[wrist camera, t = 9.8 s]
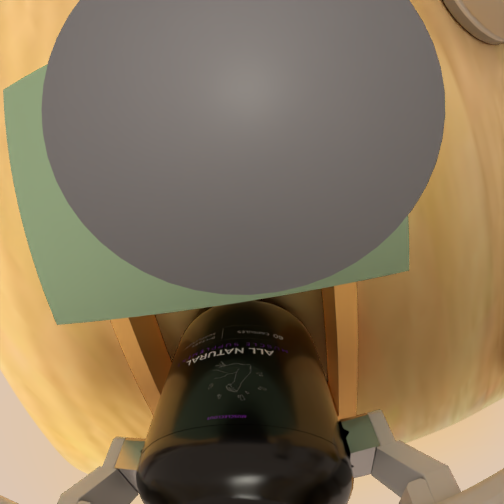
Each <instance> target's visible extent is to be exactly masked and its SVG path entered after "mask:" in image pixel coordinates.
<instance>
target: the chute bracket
mask: <svg viewBox="0 0 504 504" xmlns="http://www.w3.org/2000/svg"><path fill="white" fill-rule="evenodd" d="M322 298H323V310H324V322H325V336H326V351H327V368H328V382H327V384H328V388H329V391H330V394H331V397H332V401H333V404H334V407H335V410H336V414H337V417H338V420H340V419H345V418H349V417H353V416H356V407H357V382H358V307H357V282H352V283H347V284H342V285H337V286H332V287H326V288H322ZM110 321H111V324H112V326H113V329H114V331H115V334H116V336H117V339H118V341H119V344H120V346H121V349H122V351H123V353H124V356H125V358H126V360H127V362H128V365H129V367H130V369H131V371H132V373H133V376H134V378H135V380H136V382H137V384H138V386H139V388H140V390H141V392H142V394H143V397H144V399H145V401H146V403H147V404H148V406H149V408H150V410H151V412H152V414H153V416H154V413H155V410H156V407H157V404H158V402H159V399H160V396H161V393H162V390H163V387H164V384H165V381H166V379H167V376H168V373H169V370H170V367H171V364H172V362H171V360H170V357H169V354H168V352H167V349H166V346H165V343H164V340H163V338H162V335H161V332H160V329H159V326H158V323H157V320H156V317H155V314H154V315H146V316H138V317H129V318H121V319H111V320H110Z"/></svg>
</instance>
